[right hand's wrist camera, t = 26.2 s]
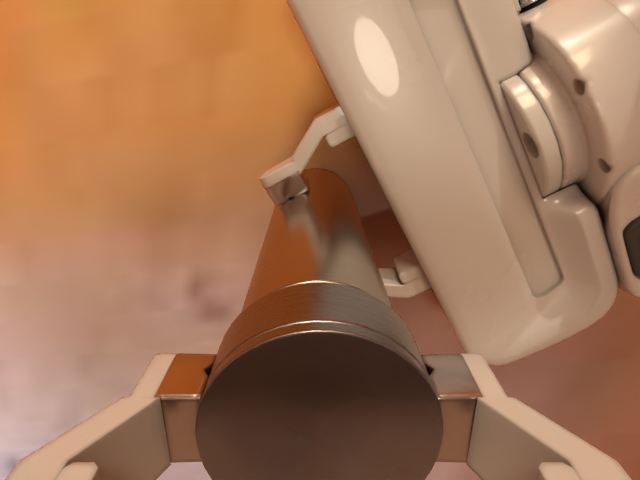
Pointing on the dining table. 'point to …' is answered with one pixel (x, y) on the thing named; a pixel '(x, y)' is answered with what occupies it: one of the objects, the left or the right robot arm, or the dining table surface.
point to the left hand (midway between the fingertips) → (299, 242)
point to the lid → (319, 392)
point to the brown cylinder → (317, 243)
